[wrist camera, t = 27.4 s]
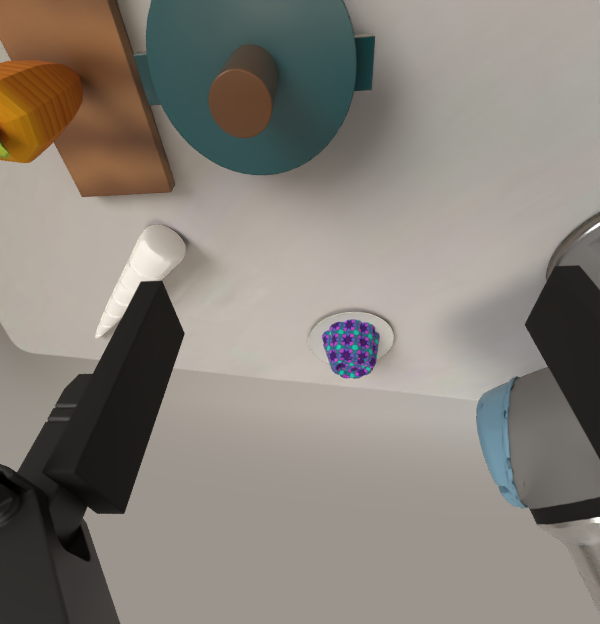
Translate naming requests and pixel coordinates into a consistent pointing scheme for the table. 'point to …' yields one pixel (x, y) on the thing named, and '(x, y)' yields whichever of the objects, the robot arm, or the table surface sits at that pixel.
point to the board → (93, 93)
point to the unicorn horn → (143, 270)
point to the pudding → (351, 342)
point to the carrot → (35, 106)
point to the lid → (253, 77)
